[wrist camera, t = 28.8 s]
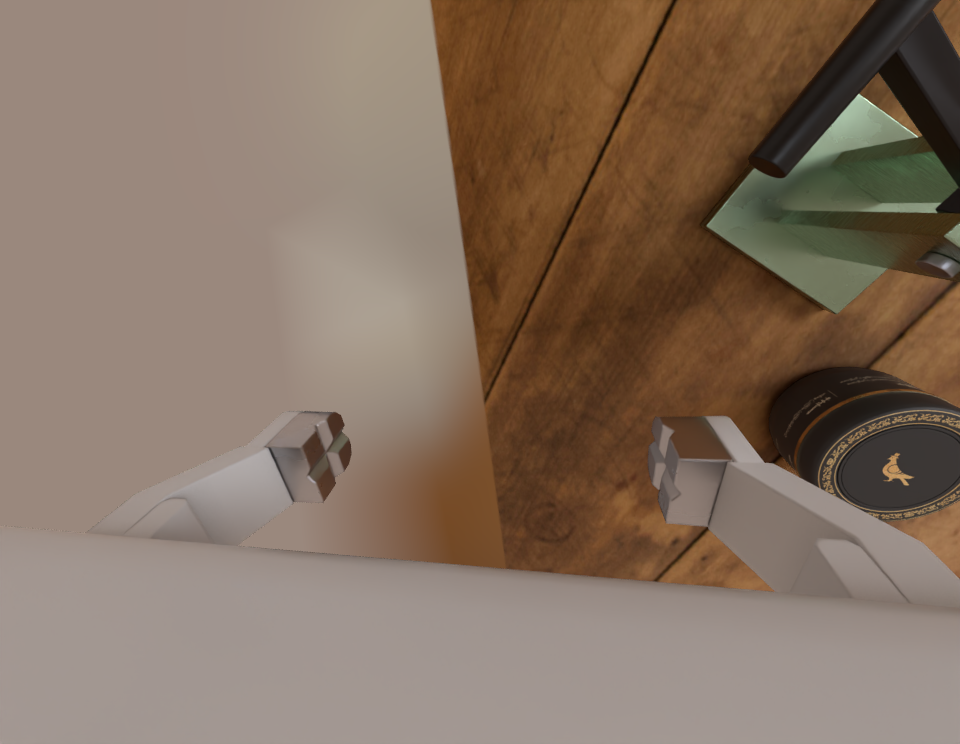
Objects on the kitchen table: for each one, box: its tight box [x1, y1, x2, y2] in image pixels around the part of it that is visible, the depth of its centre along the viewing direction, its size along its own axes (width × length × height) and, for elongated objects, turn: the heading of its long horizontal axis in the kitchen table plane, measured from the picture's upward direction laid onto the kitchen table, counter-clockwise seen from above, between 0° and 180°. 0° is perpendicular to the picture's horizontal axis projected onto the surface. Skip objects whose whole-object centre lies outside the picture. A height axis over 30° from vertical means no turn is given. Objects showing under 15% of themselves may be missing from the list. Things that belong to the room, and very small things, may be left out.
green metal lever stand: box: [700, 94, 960, 314], centre depth 20 cm, size 12×10×14 cm
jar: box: [769, 367, 960, 522], centre depth 28 cm, size 10×10×8 cm
